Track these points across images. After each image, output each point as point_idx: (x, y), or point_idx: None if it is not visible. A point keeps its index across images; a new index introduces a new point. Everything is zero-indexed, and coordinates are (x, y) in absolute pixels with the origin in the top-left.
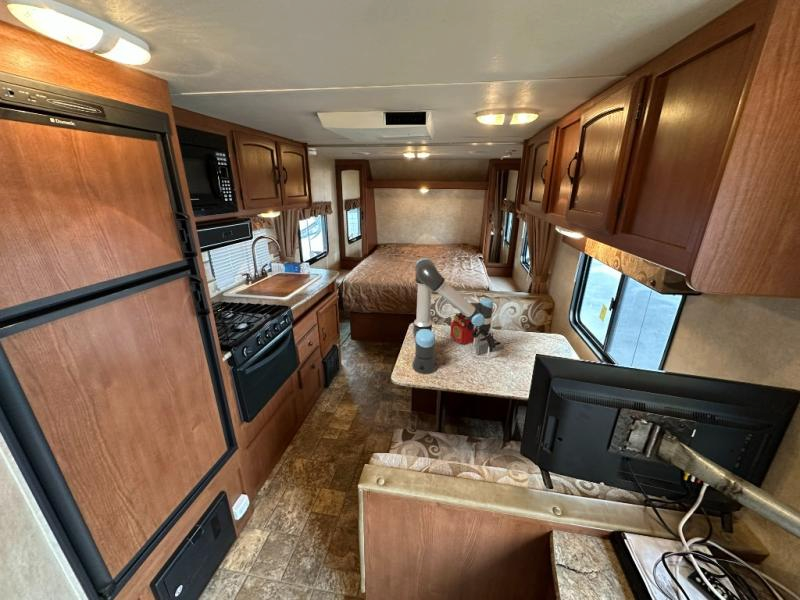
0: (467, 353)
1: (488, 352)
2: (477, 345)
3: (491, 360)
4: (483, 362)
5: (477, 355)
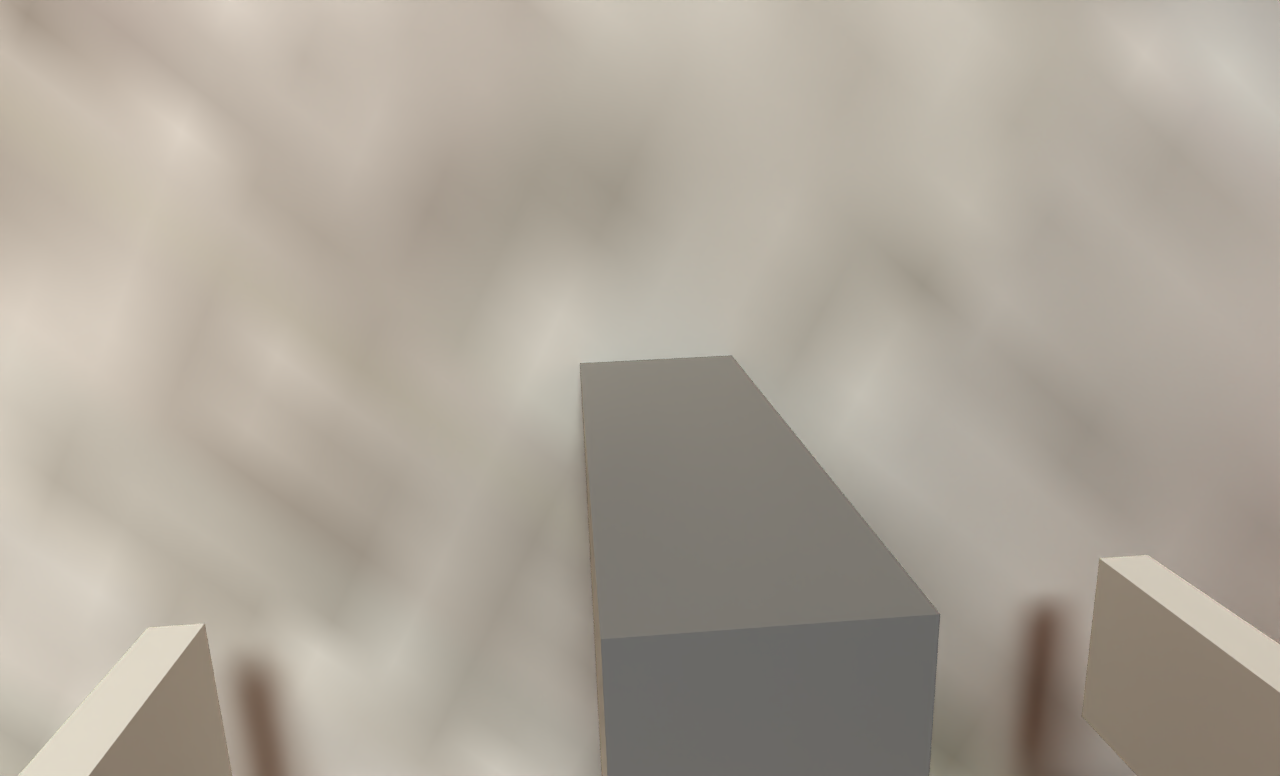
0: (946, 68)
1: (31, 769)
2: (785, 567)
3: (76, 625)
4: (39, 241)
5: (615, 363)
